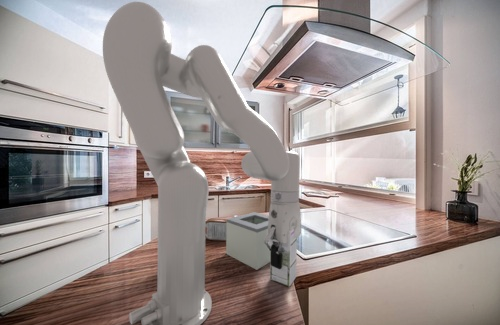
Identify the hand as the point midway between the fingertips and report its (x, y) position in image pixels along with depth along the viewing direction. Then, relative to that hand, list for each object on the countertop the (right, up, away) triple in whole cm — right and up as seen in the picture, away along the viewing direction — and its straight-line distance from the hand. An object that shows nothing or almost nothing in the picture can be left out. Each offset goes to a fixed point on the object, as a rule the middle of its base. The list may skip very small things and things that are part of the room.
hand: (283, 261), depth 53 cm
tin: (-21, -5, +26) cm, 34 cm away
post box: (-8, -5, +14) cm, 16 cm away
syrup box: (0, -5, 0) cm, 5 cm away
